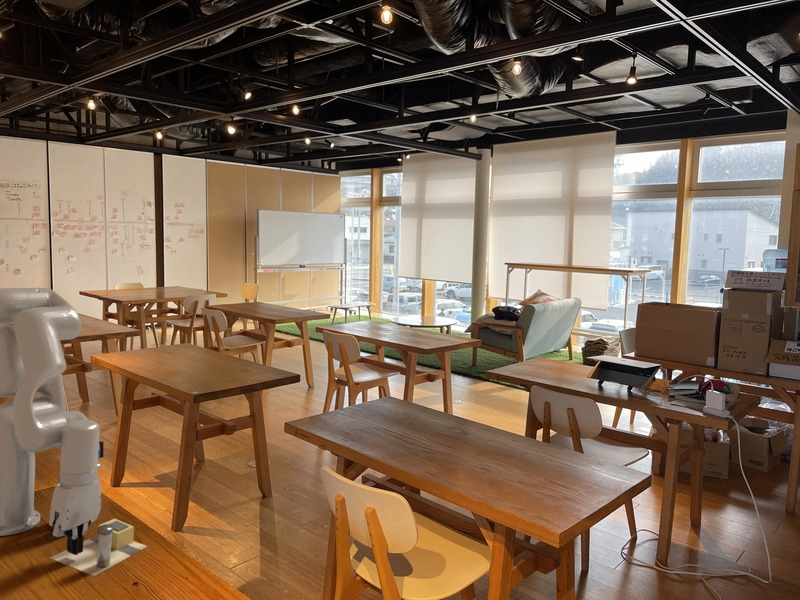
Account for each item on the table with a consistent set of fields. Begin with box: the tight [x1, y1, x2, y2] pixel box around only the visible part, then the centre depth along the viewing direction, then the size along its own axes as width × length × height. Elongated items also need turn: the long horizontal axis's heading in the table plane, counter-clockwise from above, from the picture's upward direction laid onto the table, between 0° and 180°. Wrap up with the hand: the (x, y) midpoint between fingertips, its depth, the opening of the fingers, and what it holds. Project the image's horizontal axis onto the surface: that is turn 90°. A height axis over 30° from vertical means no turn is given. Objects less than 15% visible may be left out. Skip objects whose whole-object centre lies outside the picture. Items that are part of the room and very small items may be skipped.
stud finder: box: [97, 518, 135, 550], centre depth 144 cm, size 7×4×4 cm, turn 63°
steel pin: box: [96, 524, 113, 568], centre depth 134 cm, size 3×3×9 cm
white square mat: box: [50, 534, 149, 577], centre depth 139 cm, size 14×15×1 cm
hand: (74, 551), depth 135 cm, fingers closed
